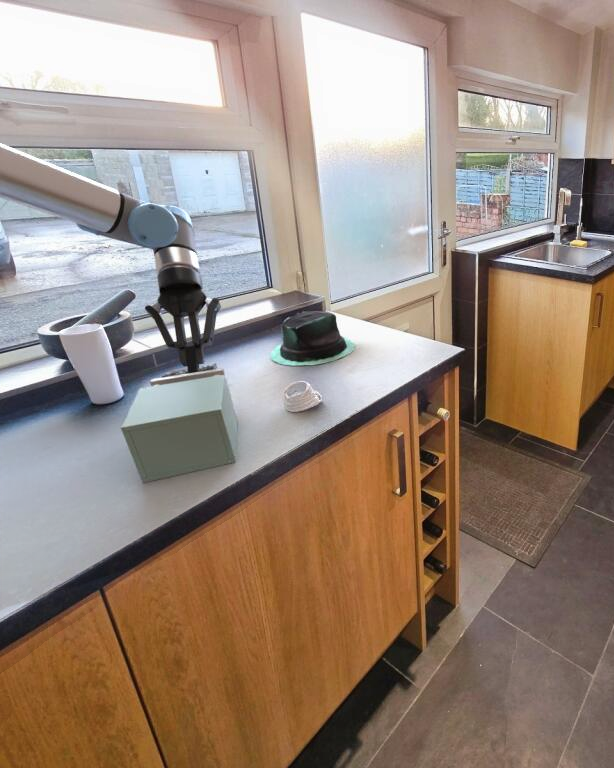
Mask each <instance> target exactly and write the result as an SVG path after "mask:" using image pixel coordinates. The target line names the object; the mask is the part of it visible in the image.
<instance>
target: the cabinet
mask: <svg viewBox="0 0 614 768" xmlns="http://www.w3.org/2000/svg"><path fill="white" fill-rule="evenodd" d="M225 376H226V374H225V375H219V376H213V377H207V378H201V379H195V380H189V381H182V382H176V383H170V384H164V385H158V386H147V387H140V388H138V390H137V392H136V395H135V397H134V399H133V401H132V403H131V405H130V407H129V410H128V412H127V413H126V416H125V418H124V419H123V422H122V425H121V427H120V429H121V432H122V435H123V438H124V439H125V443H126V445H127V447H128V449H129V453H130V454H131V458H132V460H133V462H134V465H135V467H136V470H137V472H138V475H139V477H140V480H141V482H142V483H141V484H144V483H149V482H153V481H158V480H162V479H166V478H171V477H176V476H180V475H184V474H188V473H189V474H190V473H193V472H198V471H202V470H207V469H211V468H215V467H220V466H223V465H228V464H234V463H236V462H237V448H238V424H239V421H238V418H237V414H236V411H235V407H233V404H234V402H233V403H232V401H233V399H232V400H231V397H232V395H231V396H230V393H231V391H230V392H229V390H230V388H229V389H228V386H229V384H228V385H227V383H228V381H227V382H226V379H227V377H226V378H225Z"/></svg>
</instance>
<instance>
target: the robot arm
mask: <svg viewBox="0 0 614 768" xmlns="http://www.w3.org/2000/svg"><path fill="white" fill-rule="evenodd" d="M0 199H4V200H5V201H6V200H7V201H9V202H12V203H16V204H18V205H22V206H24V207H27V208H30V209H33V210H36V211H39V212H42V213H46V214H48V215H51V216H54V217H57V218H60V219H63V220H66V221H69V222H72V223H74V224H75V225H76V226H77V227H78V229H80V230H82V231H84V232H88V233H90V234H94V235H95V236H97V237H98V236H100V237H105V238H107V239H111V240H115V241H119V242H124V243H128V244H130V245H135V246H139V247H142V248H146V249H150V250H152V251H153V255H154V263H155V269H156V270H155V271H156V275H157V285H158V293H159V295H158V297H157V300H156V301H157V302H156V303H155V304H153V305H150V304H148V305H145V306H144V310H145V311H146V313H147V314H148V316H149V317H151V318H152V319H153V321H154V322H155V324H156V326H157V329H158V330H159V331H158V332H160V333H159V334H160V335H161V337H162V339H163V341H164V344H165V345H166V347H167V348H168V350H169V351H170V352H178V356H179V362H180V363H181V365H182V367H183V368H184V367H187V369H188V374H189V373H195V372H200V369H199V368H200V365H203V364H205V362H206V361H205V355H204V349H205V348H207V347H211V346H213V344H214V337H215V330H216V329H215V328H216V322H217V314H218V313H219V311H220V309H221V308H222V305H221V303H220V300H219V299H218V297H214V298H210V297H208V296H207V293H205V292H204V286H203V280H202V276H201V268H200V263H199V258H198V252H197V245H196V239H195V230H194V227H193V222H192V219H191V217H190V215H189V214H188V212H186V211H185V210H184V209H182V208H180V207H178V206H175V205H169V206H168V205H166V204H161V205H160V204H158V203H155V202H152V201H144V200H141V199H139V198H137V197H134V196H131V195H129V194H126V193H123V192H121V191H118V190H117V189H115V188H112V187H110V186H107V185H104V184H101V183H99V182H97V181H94V180H92V179H89V178H87V177H85V176H82V175H79V174H77V173H75V172H71V171H70V170H67V169H64V168H63V167H60V166H57V165H54V164H52V163H50V162H47V161H45V160H43V159H40V158H37V157H35V156H33V155H30V154H27V153H26V152H22V151H20V150H17V149H16V148H13V147H10V146H7V145H6V144H2V143H0ZM205 306H206V314H205V321H204V328H203V334H201V327H200V322H199V314H200V312H201V311H202V309H203V308H204V307H205ZM162 310H164V311H165V312H166V313H168V314H169V315H171V316H172V319H173V325H174V332H175V340H176V341H174V339H173V337H172V335H171V333H170V331H169V329H168V327H167V325H166V322H165V321H164V319H163V317H162V315H163V311H162ZM186 317H188V323H189V328H190V334H191V343H192V345H189V346H188V341H187V335H186V334H187V333H186V328H185V318H186Z"/></svg>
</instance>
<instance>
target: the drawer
mask: <svg viewBox="0 0 614 768" xmlns="http://www.w3.org/2000/svg"><path fill="white" fill-rule="evenodd" d="M219 375H225V378H226V382H227V385H228V389H229V392H230V396H231V400H232V403H233V407H234V406H235V404H234V400H233V397H232V394H231V390H230V387H229V383H228V380H227V376H226V372H225V369H224V367H222V368H216V369H214V370H208V371H202V372H195V373H189V374H183V375H176V376H170V377H164V378H162V377H158V378H151V379H150V381H149V384H150V387H152V386H158V385H164V384H170V383H176V382H182V381H189V380H195V379H201V378H207V377H213V376H219ZM234 408H235V407H234Z"/></svg>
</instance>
